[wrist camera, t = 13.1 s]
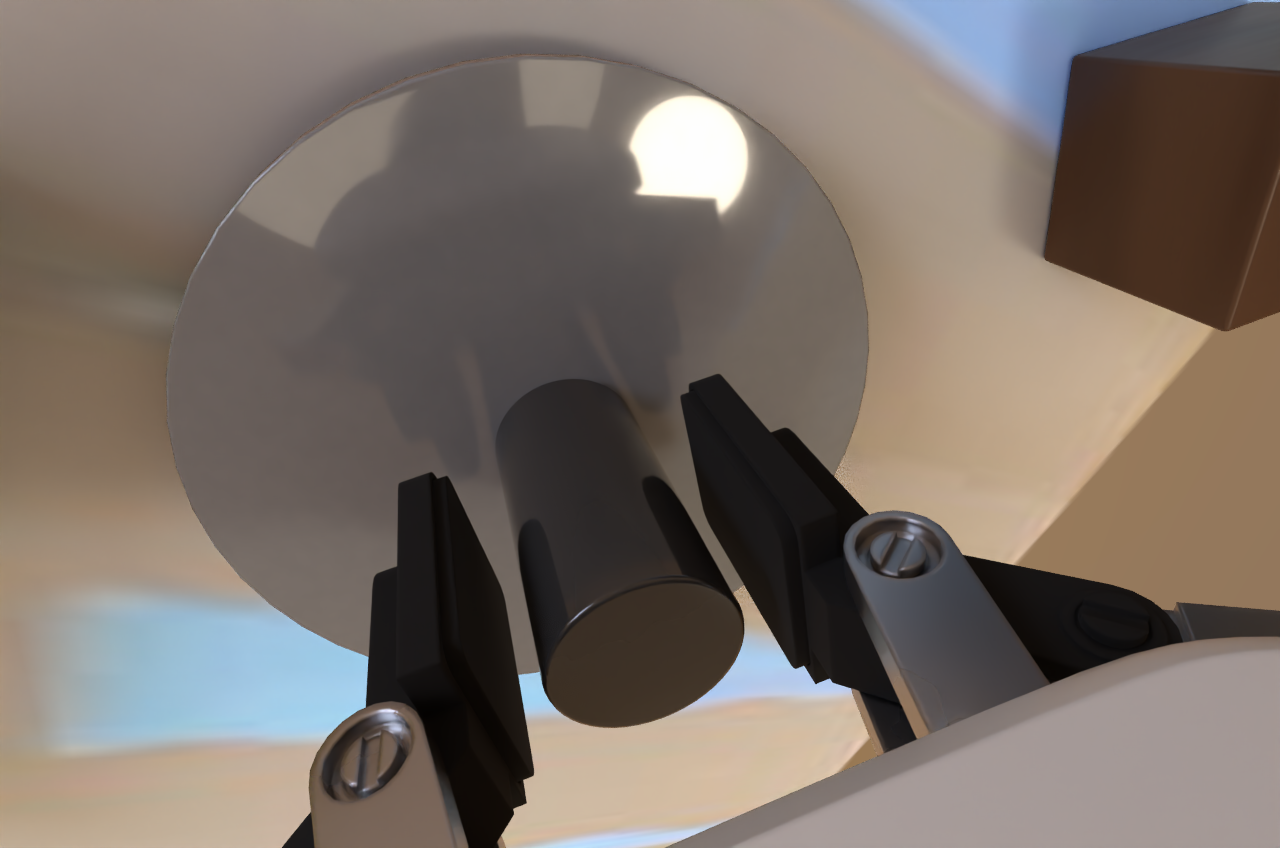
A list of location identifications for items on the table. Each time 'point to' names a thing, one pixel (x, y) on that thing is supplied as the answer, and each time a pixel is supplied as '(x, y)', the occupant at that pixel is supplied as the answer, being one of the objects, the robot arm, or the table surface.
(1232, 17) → the block
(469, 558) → the robot arm
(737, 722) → the table surface
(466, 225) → the lid
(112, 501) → the table surface
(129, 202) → the table surface
